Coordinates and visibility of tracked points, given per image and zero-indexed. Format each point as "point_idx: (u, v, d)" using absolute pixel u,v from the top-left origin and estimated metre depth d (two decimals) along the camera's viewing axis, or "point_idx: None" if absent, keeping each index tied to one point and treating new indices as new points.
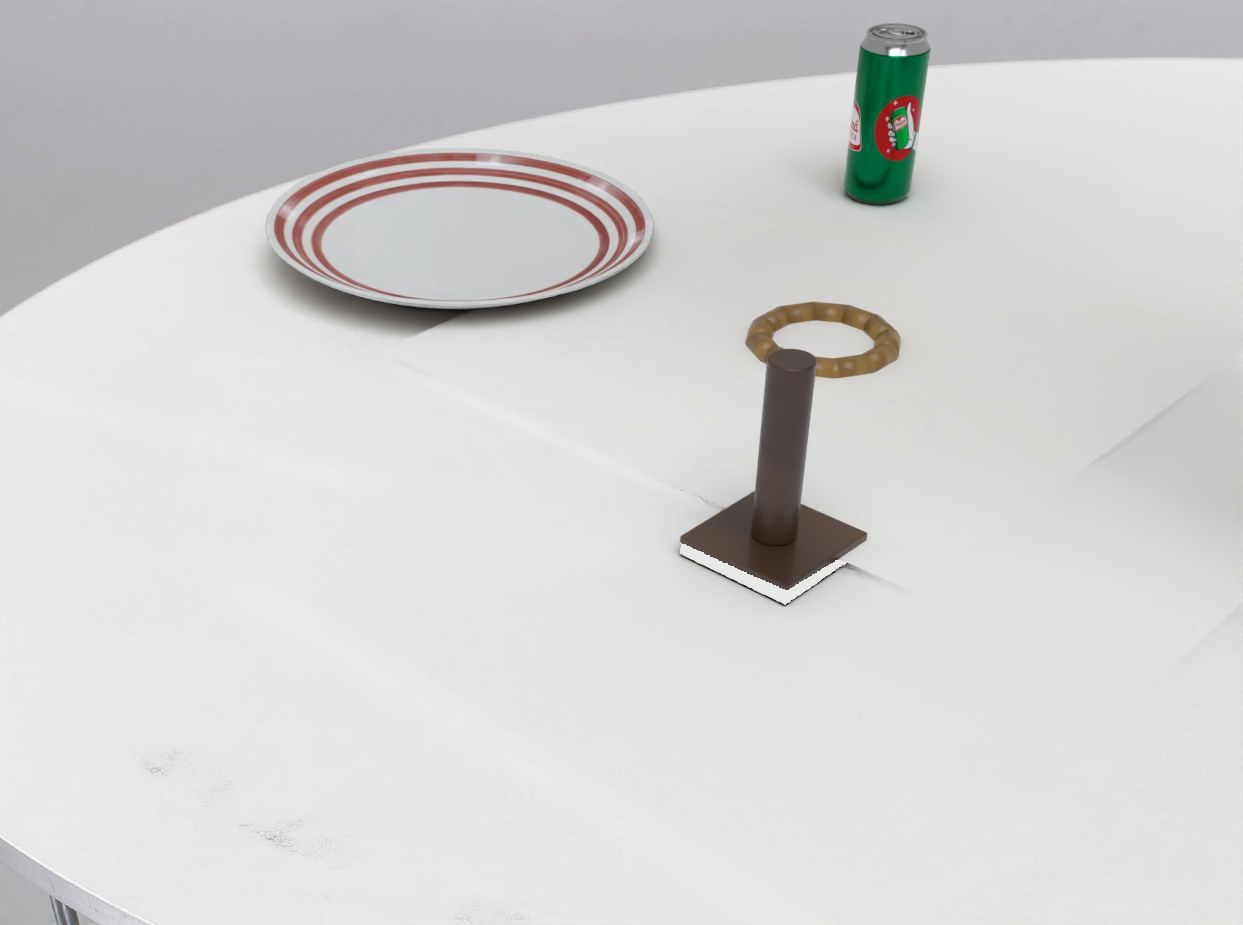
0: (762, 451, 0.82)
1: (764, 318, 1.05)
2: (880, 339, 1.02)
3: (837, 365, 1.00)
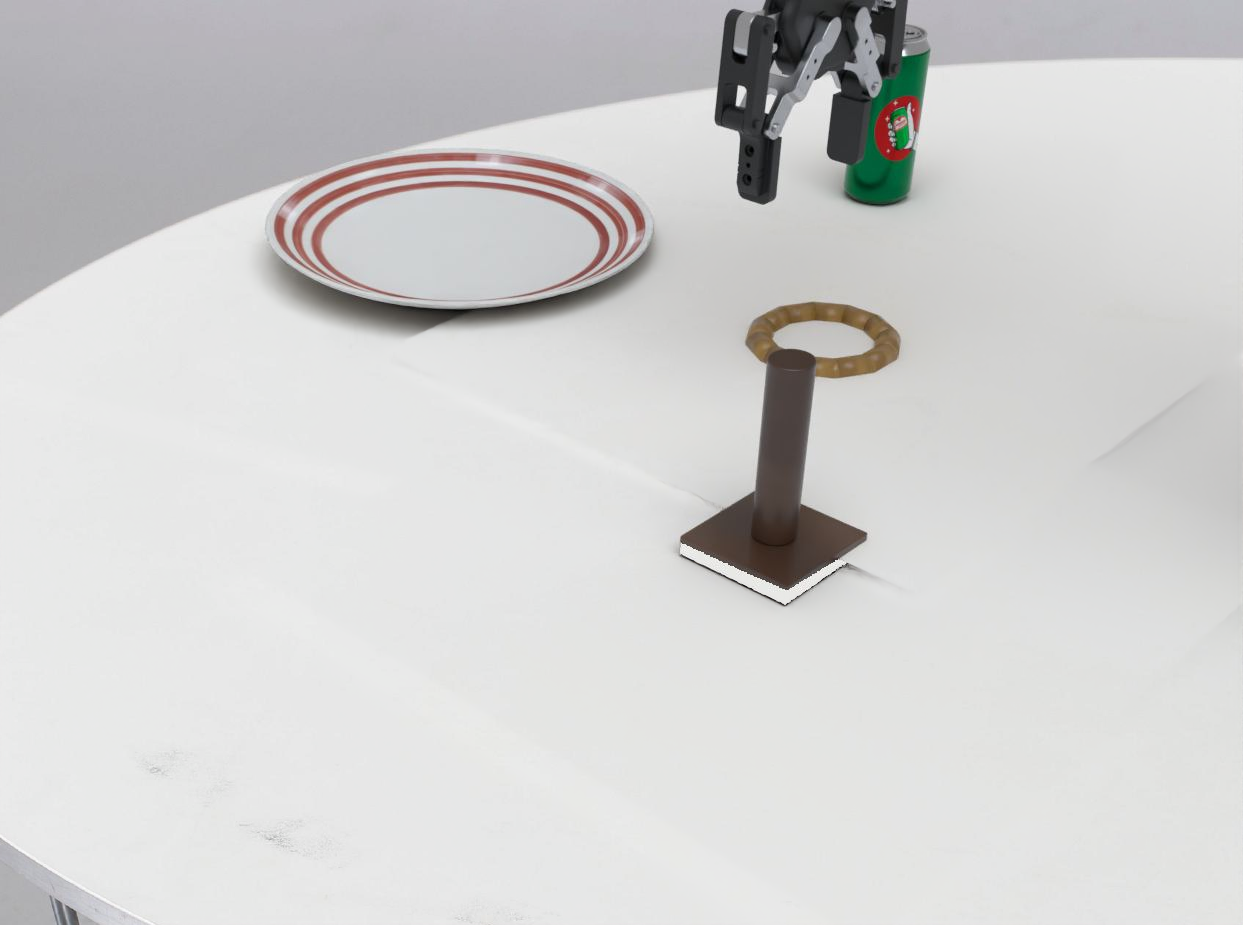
0: (762, 451, 0.82)
1: (764, 318, 1.05)
2: (880, 339, 1.02)
3: (837, 365, 1.00)
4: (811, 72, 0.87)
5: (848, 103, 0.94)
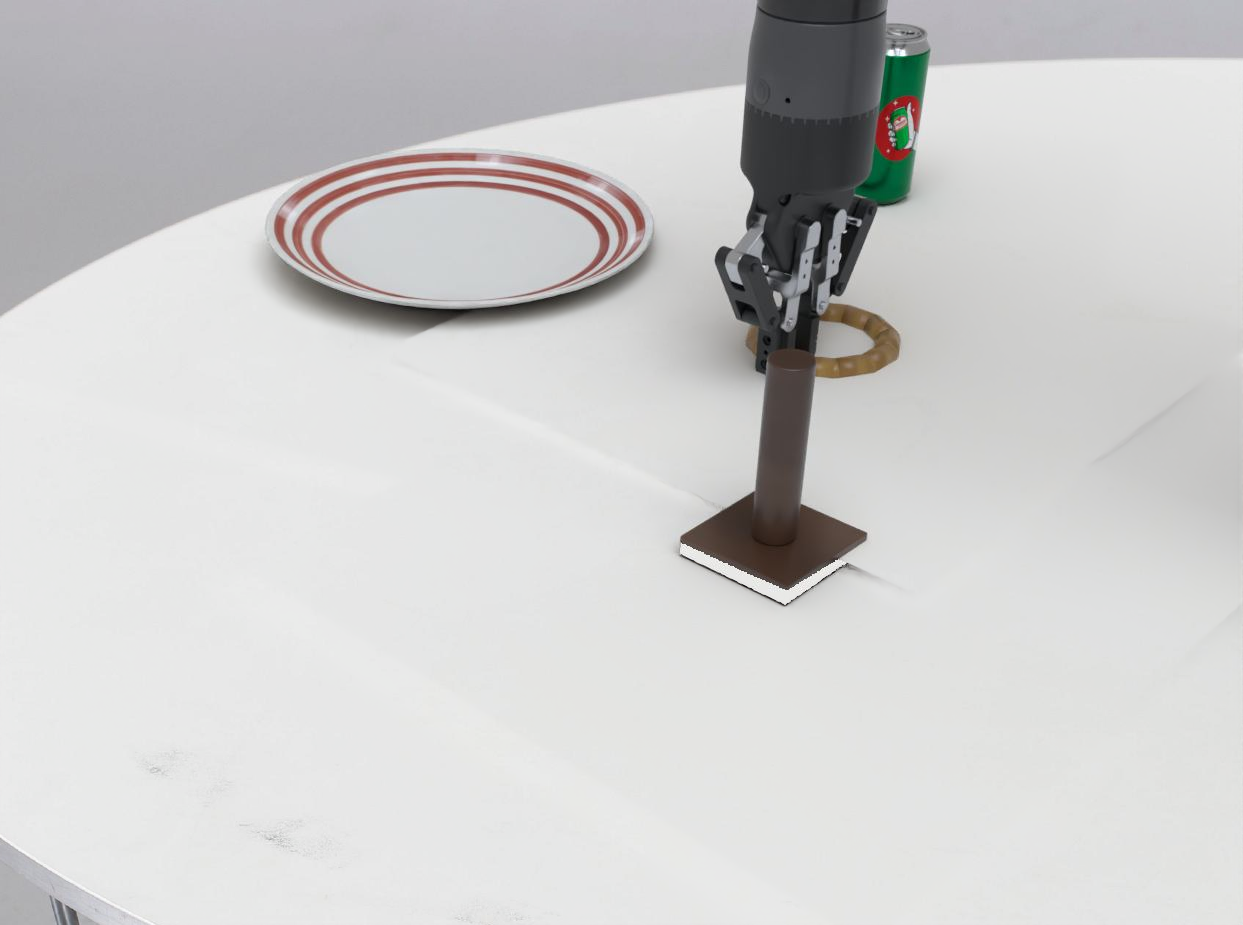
0: (762, 451, 0.82)
1: None
2: (880, 339, 1.02)
3: (837, 365, 1.00)
4: (806, 270, 0.95)
5: (797, 319, 1.00)
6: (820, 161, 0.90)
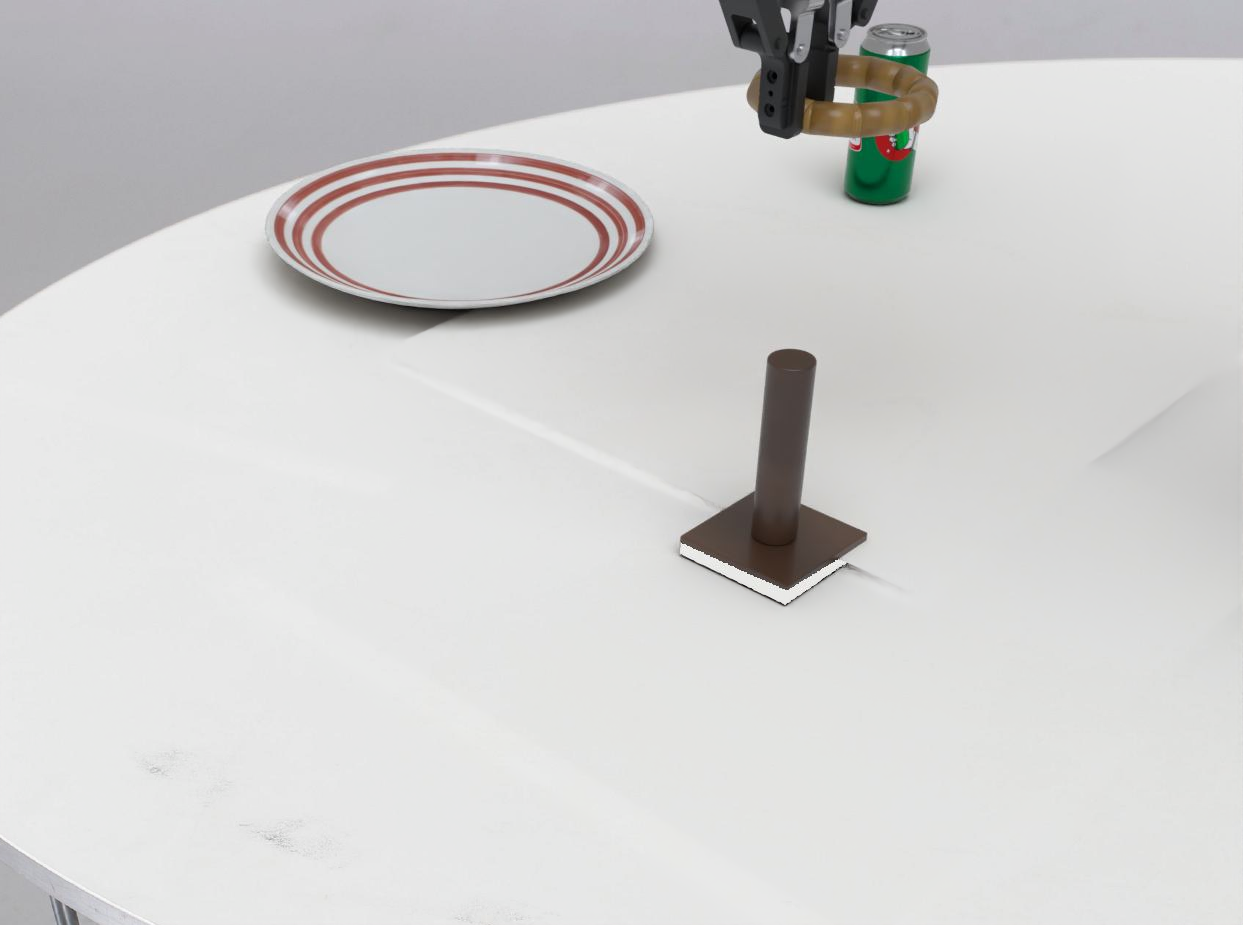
0: (762, 451, 0.82)
1: None
2: (913, 88, 0.82)
3: (860, 110, 0.80)
4: None
5: (811, 54, 0.80)
6: None
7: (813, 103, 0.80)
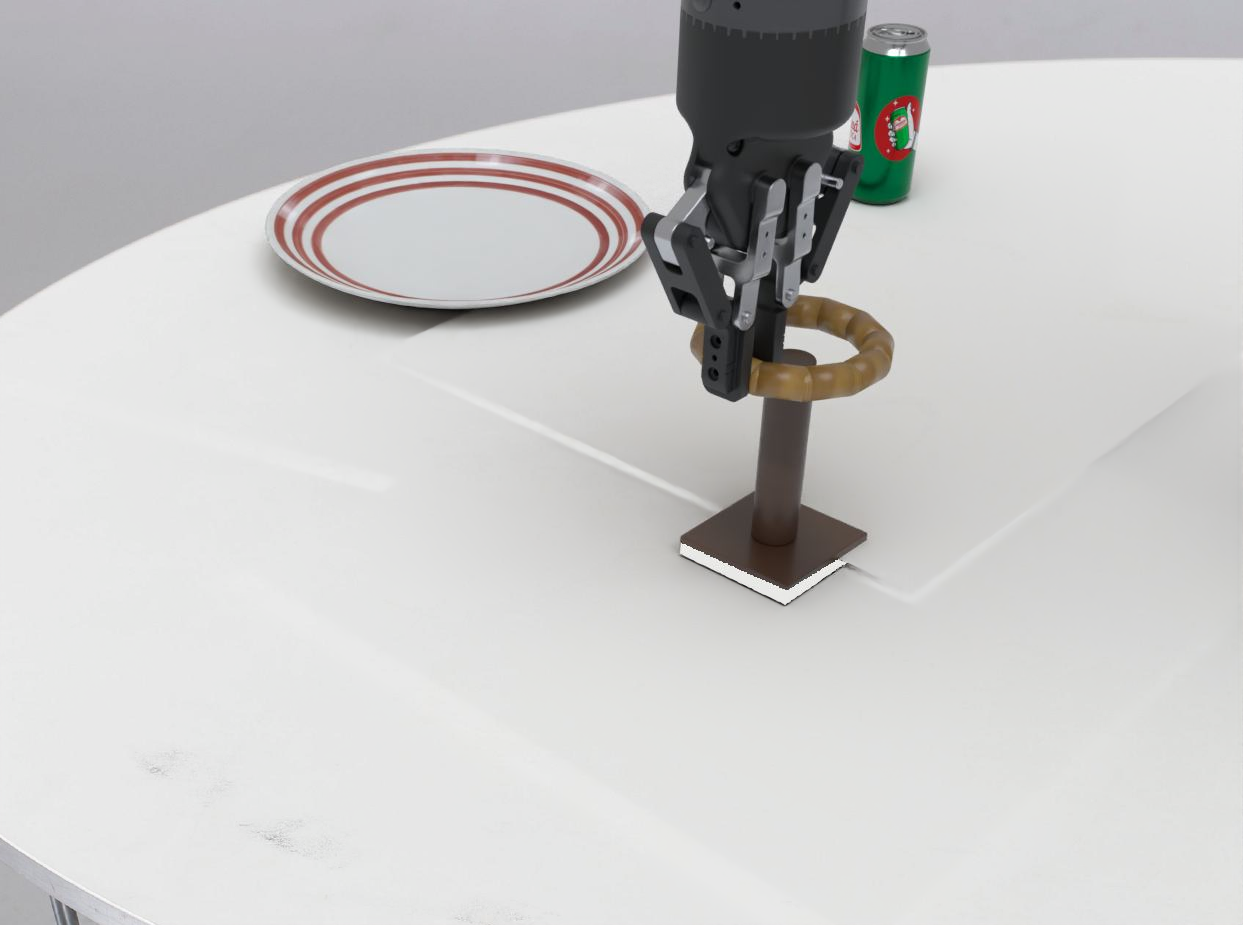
0: (762, 451, 0.82)
1: None
2: (868, 343, 0.77)
3: (810, 375, 0.74)
4: (766, 247, 0.70)
5: (757, 313, 0.75)
6: (784, 92, 0.65)
7: (760, 366, 0.75)
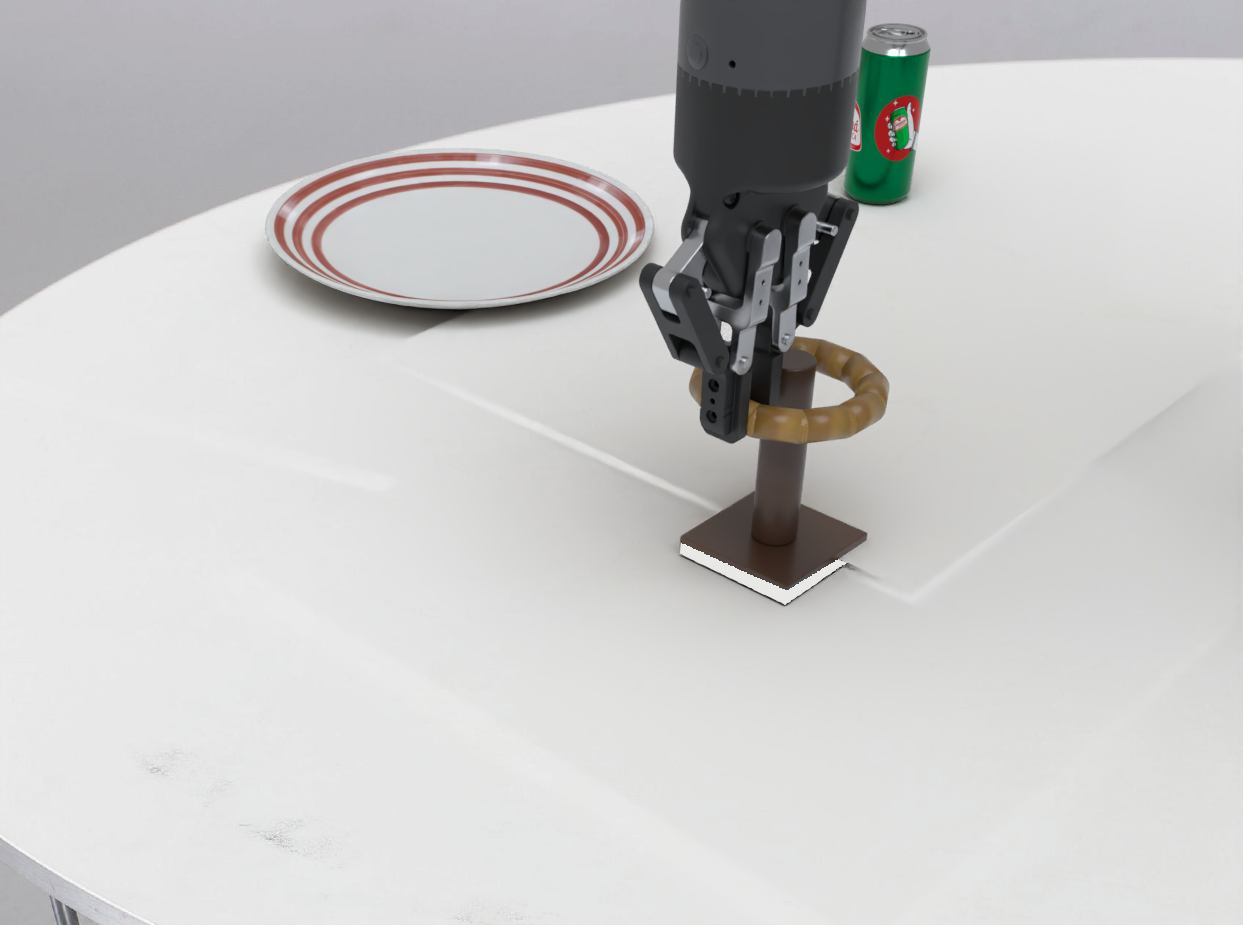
0: (762, 451, 0.82)
1: None
2: (863, 386, 0.79)
3: (806, 418, 0.76)
4: (763, 294, 0.72)
5: (754, 356, 0.76)
6: (778, 147, 0.66)
7: (758, 408, 0.76)
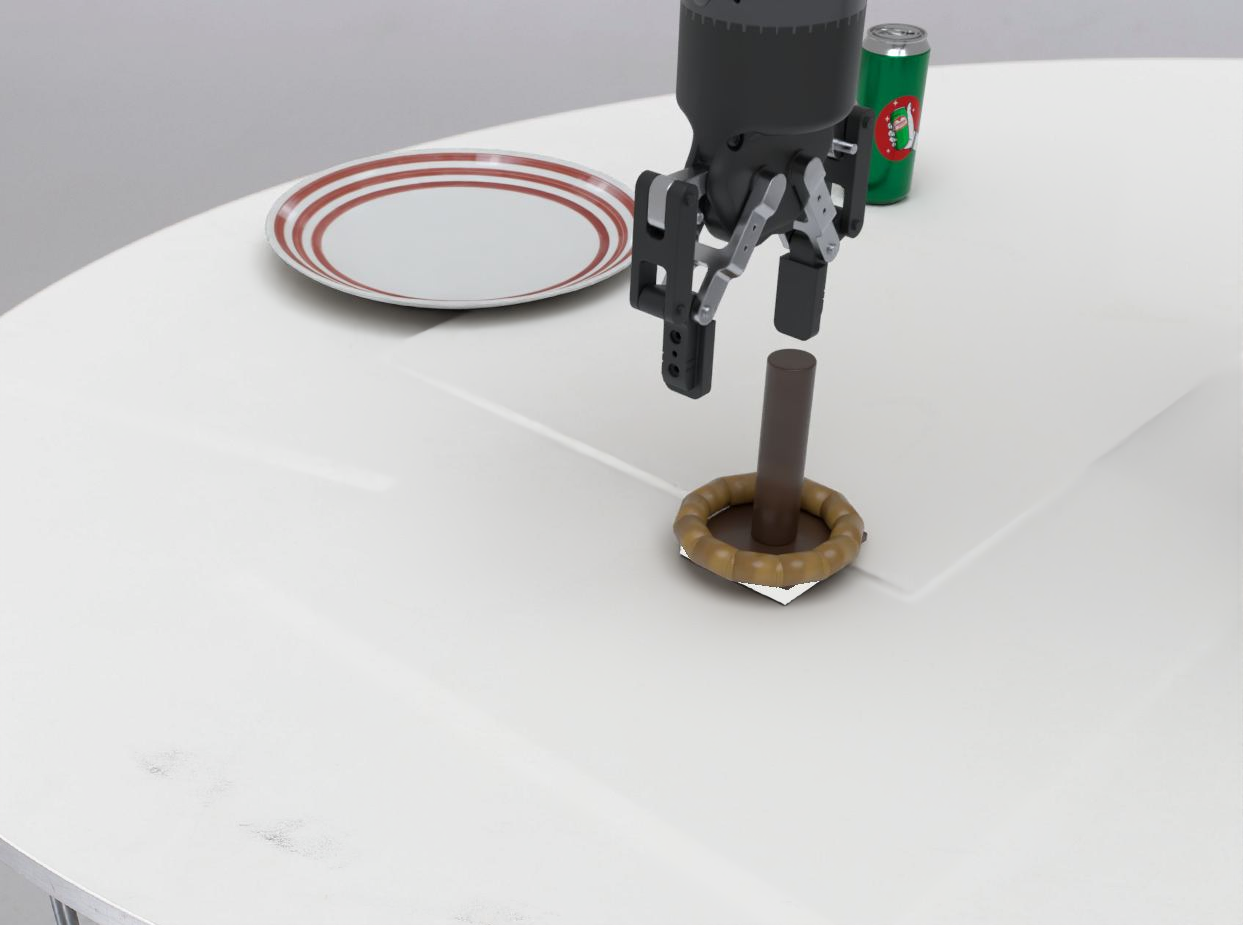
0: (762, 451, 0.82)
1: (698, 495, 0.85)
2: (838, 527, 0.83)
3: (781, 565, 0.80)
4: (749, 242, 0.69)
5: (798, 268, 0.76)
6: (784, 86, 0.64)
7: (736, 555, 0.81)
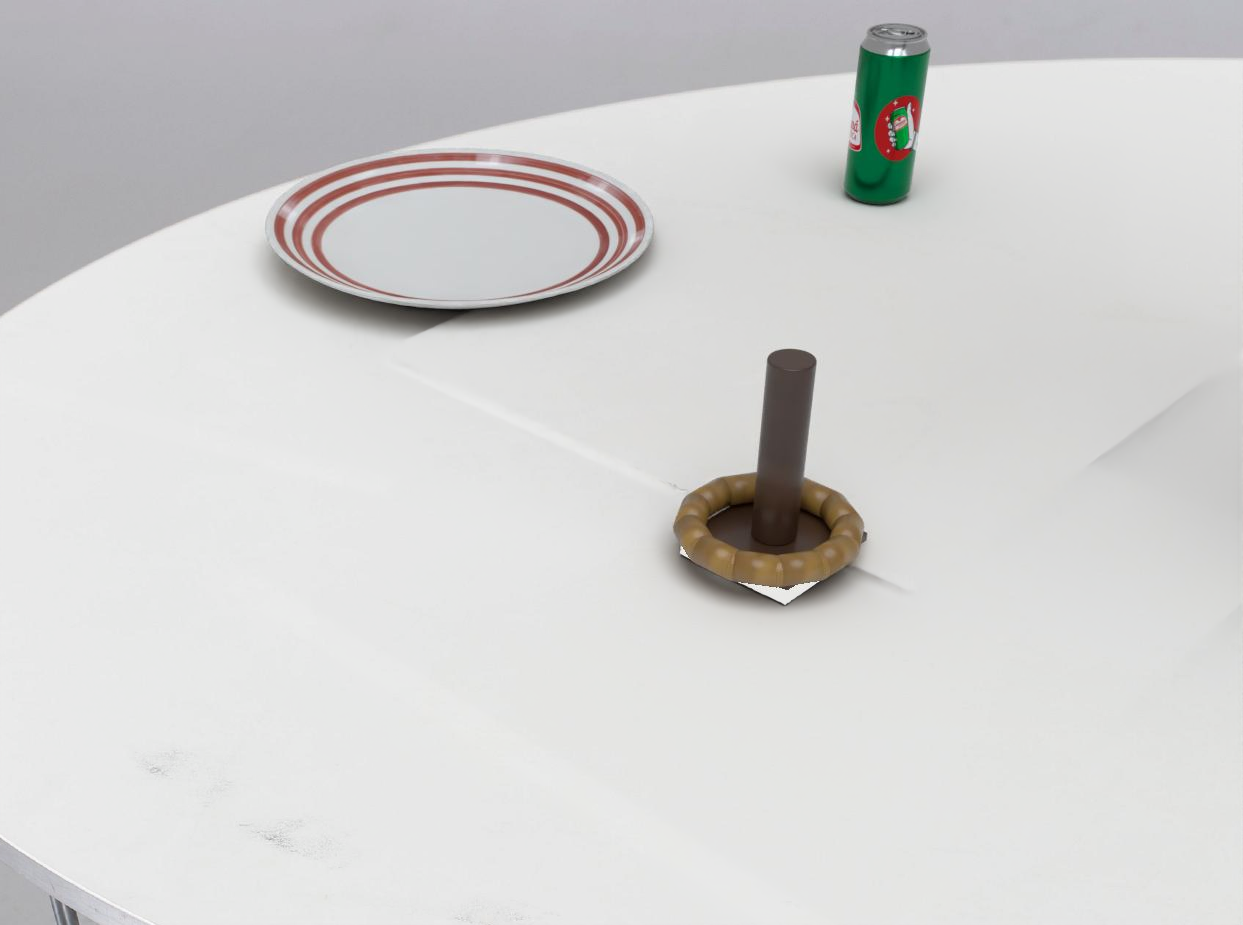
0: (762, 451, 0.82)
1: (698, 495, 0.85)
2: (838, 527, 0.83)
3: (781, 565, 0.80)
4: None
5: None
6: None
7: (736, 555, 0.81)
